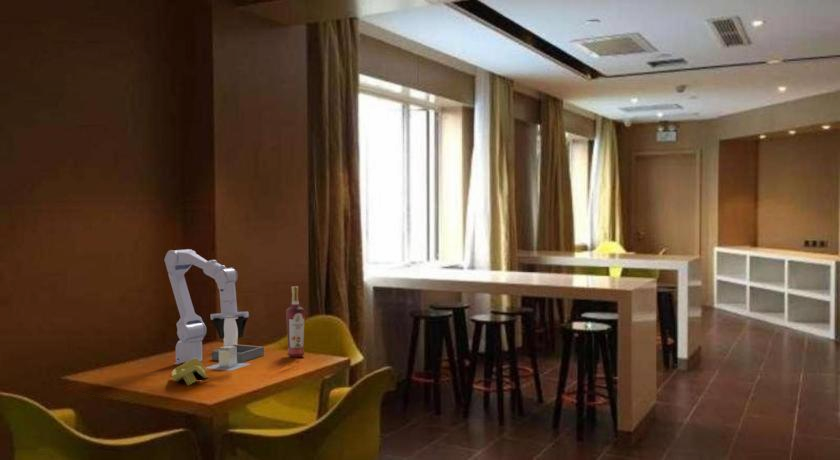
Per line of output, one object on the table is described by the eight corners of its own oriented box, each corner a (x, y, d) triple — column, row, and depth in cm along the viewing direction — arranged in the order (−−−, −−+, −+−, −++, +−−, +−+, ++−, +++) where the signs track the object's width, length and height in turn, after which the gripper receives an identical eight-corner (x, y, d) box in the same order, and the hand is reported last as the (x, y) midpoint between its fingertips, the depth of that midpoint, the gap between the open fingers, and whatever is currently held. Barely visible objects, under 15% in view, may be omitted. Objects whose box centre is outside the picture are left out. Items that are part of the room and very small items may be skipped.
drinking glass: (242, 349, 300) (241, 313, 300) (231, 352, 294) (231, 315, 294) (229, 347, 303) (228, 312, 303) (218, 350, 297) (218, 315, 296)
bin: (212, 362, 274) (211, 351, 274) (234, 355, 287) (234, 344, 287) (242, 365, 268) (241, 353, 268) (263, 358, 281) (263, 346, 281)
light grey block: (218, 366, 261) (218, 347, 261) (226, 364, 265) (226, 345, 265) (229, 367, 259) (228, 348, 259) (237, 365, 264) (236, 346, 263)
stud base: (204, 371, 259) (203, 356, 259) (225, 364, 270) (224, 350, 270) (231, 374, 254) (230, 358, 254) (251, 367, 266) (251, 352, 265)
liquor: (290, 359, 278) (289, 288, 277) (284, 356, 284) (282, 286, 283) (308, 357, 281) (307, 287, 280) (301, 354, 288) (300, 285, 287)
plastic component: (173, 369, 253) (199, 355, 256) (183, 387, 253) (209, 373, 256) (170, 377, 234) (198, 362, 237) (180, 397, 234) (209, 381, 237)
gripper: (204, 303, 260) (207, 340, 259) (240, 300, 256) (244, 338, 256) (214, 301, 266) (217, 337, 266) (250, 298, 263) (253, 335, 263)
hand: (231, 338), depth 261 cm, fingers open, 7 cm apart
